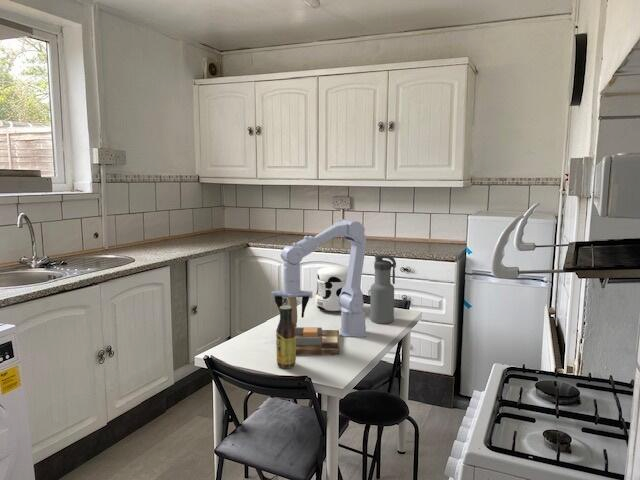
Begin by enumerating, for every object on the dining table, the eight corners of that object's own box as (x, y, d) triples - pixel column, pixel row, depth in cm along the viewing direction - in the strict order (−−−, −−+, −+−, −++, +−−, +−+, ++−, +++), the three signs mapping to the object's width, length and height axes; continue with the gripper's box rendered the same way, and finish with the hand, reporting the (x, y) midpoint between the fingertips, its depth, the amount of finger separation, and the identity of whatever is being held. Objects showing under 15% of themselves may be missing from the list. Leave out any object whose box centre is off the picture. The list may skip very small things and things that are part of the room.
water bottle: (394, 317, 206) (395, 253, 201) (395, 324, 196) (396, 257, 192) (370, 316, 207) (370, 252, 202) (370, 324, 197) (371, 257, 193)
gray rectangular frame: (321, 333, 180) (321, 327, 179) (321, 345, 168) (321, 338, 168) (285, 333, 180) (284, 327, 180) (281, 344, 169) (281, 338, 168)
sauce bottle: (276, 362, 159) (275, 303, 156) (295, 361, 159) (295, 303, 156) (276, 370, 152) (275, 309, 149) (296, 369, 153) (295, 309, 150)
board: (338, 335, 184) (338, 330, 184) (339, 355, 164) (339, 349, 164) (285, 334, 184) (285, 329, 184) (280, 354, 165) (280, 349, 164)
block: (317, 336, 176) (317, 327, 176) (317, 341, 172) (317, 332, 171) (303, 336, 177) (303, 327, 176) (303, 341, 172) (303, 332, 171)
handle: (295, 331, 189) (295, 294, 186) (282, 328, 192) (281, 291, 190) (302, 327, 193) (302, 291, 190) (289, 324, 196) (289, 289, 194)
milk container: (356, 305, 224) (356, 267, 221) (350, 316, 207) (350, 275, 205) (320, 303, 228) (320, 265, 225) (311, 313, 211) (311, 273, 209)
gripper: (270, 282, 167) (270, 320, 169) (311, 282, 167) (311, 320, 169) (272, 277, 174) (273, 314, 176) (312, 278, 174) (312, 314, 176)
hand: (292, 316), depth 173 cm, fingers open, 7 cm apart
